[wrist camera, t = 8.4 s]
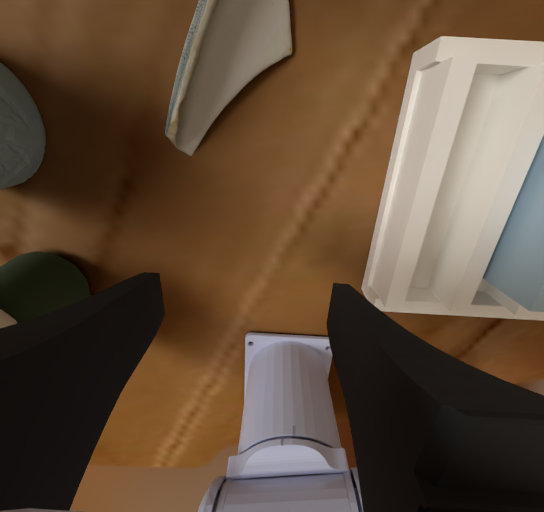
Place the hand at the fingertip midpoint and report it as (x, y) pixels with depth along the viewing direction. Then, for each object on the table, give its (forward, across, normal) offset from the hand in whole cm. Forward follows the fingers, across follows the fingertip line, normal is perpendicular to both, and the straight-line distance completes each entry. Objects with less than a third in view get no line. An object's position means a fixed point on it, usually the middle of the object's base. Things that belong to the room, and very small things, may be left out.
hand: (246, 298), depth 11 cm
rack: (+10, -16, -3) cm, 19 cm away
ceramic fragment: (+11, +3, -11) cm, 16 cm away
